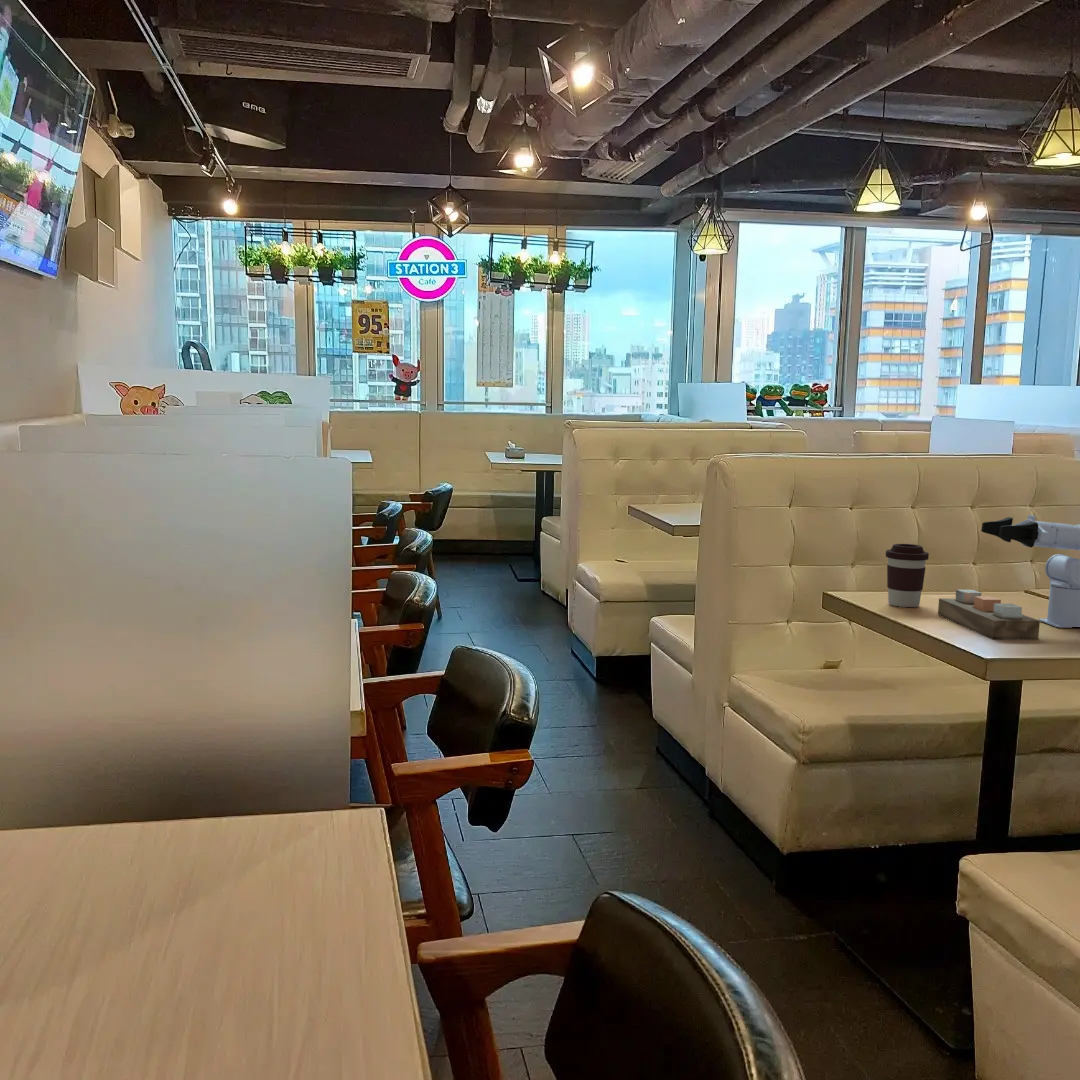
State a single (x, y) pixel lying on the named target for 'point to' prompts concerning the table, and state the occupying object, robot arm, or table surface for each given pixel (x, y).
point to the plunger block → (988, 621)
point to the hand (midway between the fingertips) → (991, 529)
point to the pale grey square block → (1007, 611)
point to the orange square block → (985, 603)
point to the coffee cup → (905, 574)
